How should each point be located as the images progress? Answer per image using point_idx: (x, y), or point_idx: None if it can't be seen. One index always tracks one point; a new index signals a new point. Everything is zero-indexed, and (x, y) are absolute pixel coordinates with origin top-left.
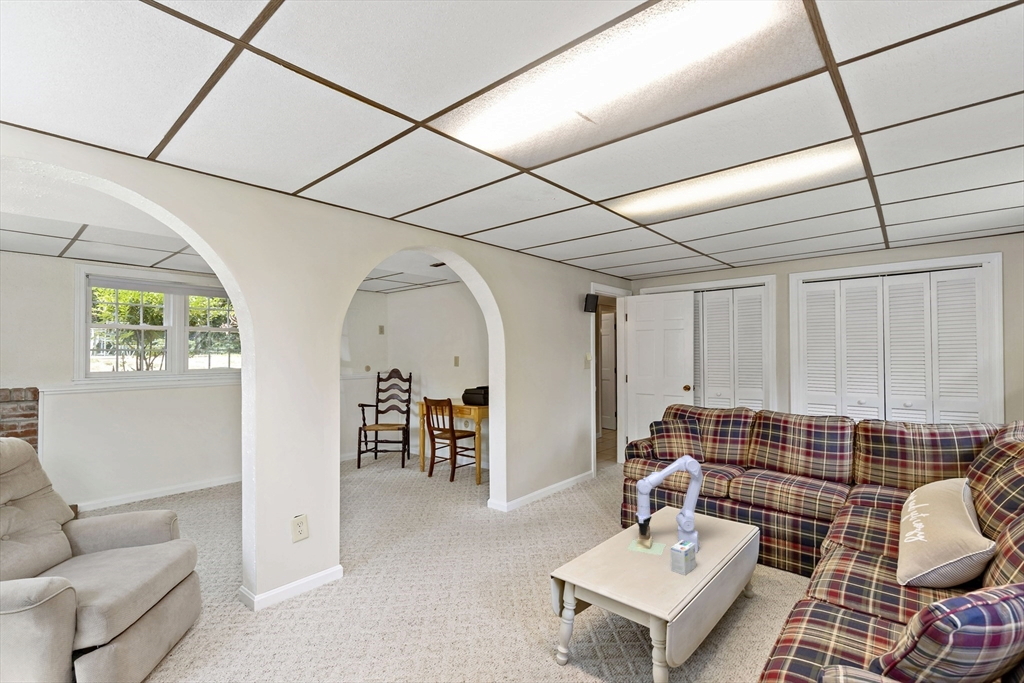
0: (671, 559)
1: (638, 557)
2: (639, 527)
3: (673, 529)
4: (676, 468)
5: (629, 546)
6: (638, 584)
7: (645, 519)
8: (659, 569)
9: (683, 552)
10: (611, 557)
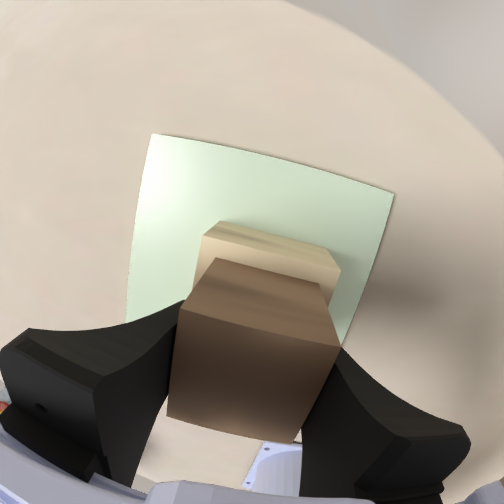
0: (5, 387)
1: (90, 223)
2: (116, 327)
3: (501, 406)
4: None
5: (220, 151)
6: None
7: (327, 483)
8: (21, 318)
9: None
10: (70, 62)
